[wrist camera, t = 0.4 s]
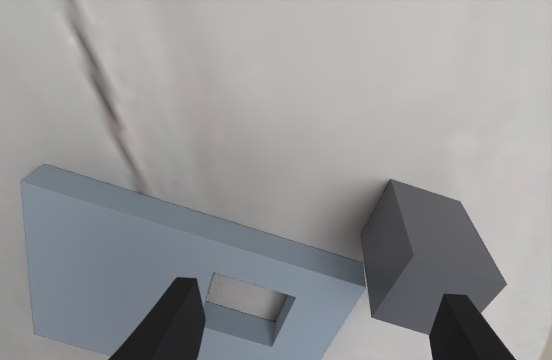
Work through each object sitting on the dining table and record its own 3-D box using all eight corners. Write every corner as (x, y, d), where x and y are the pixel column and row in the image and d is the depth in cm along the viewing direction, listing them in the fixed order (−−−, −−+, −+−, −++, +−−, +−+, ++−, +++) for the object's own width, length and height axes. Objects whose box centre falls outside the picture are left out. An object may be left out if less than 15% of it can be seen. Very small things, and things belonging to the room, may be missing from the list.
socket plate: (292, 382, 30) (290, 407, 28) (51, 312, 29) (33, 334, 27) (362, 263, 23) (365, 287, 21) (44, 164, 22) (20, 181, 20)
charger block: (423, 253, 22) (453, 342, 17) (360, 233, 22) (371, 317, 17) (460, 201, 20) (507, 284, 15) (390, 178, 20) (413, 255, 15)
